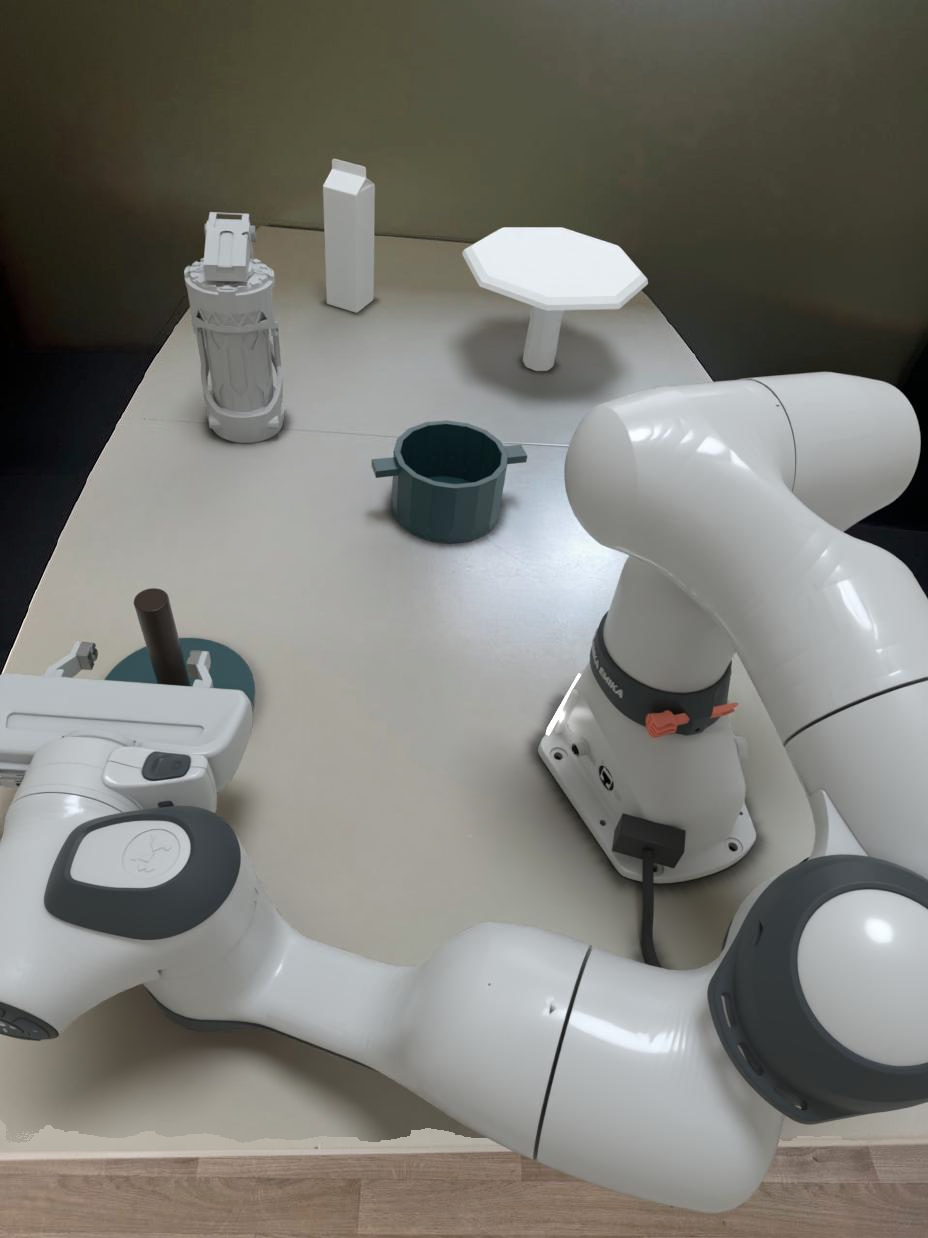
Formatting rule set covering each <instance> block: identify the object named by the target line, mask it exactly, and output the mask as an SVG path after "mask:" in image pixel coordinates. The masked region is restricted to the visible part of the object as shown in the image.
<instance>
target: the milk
mask: <svg viewBox="0 0 928 1238" xmlns="http://www.w3.org/2000/svg"><path fill="white" fill-rule="evenodd" d="M375 197H376V184H375V183H374V182H373V181H371V180H370V179H369V178H368V177H367V168H366V166H363V165H360V164H356V163H352V162H349V161H344V160H341V159H337V158H332V159H331V170H330V171H329V173H328V176H327V177H326V179H325V181H324V182H323V185H322V204H323V229H324V230H323V231H324V232H323V233H324V235H323V236H324V262H325V264H324V265H325V266H324V267H325V291H326V292H325V295H326V305H330V306H332V307H336V308H339V309H343V310H346V311H349V312H352V313H354V314H355V313H356V314H357V313H359V312H360V311H362V310H363V309H364V308H365V307H366V306H369V304H371V302H373V301H374V297H375V296H374V295H375V294H374V291H375V289H374V287H375V284H374V283H375V213H376V212H375V209H376V208H375V206H376V205H375V204H376V203H375V201H376V199H375Z"/></svg>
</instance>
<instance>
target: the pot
mask: <svg viewBox="0 0 928 1238" xmlns="http://www.w3.org/2000/svg"><path fill="white" fill-rule="evenodd" d="M527 460H528V454H527V452H526V451H525V449H524V448H523V445H522V444H514V445H513V444H512V445H504V444H503V442H502V441H501V440H500V439H499V438H497V437H496V436H495V435H494V434H492V433H491V432H490V431H488V430H486V429H484V428H481V427H479V426H477V425H474V424H470V423H469V422H462V421H454V420H436V421H426V422H425V421H424V423H420V424H417V425H414V426H411V427H410V428H408V429H407V430H405V431H404V432H403V433H402V434H400V435H399V437H397V438H396V441H395V445H394V449H393V456H391V457H381V458H372V459H371V468H372V471H373V474H374V477H375V478H376V479H378V478H387V477H392V486H391V505H392V510H393V514H394V516H395V519H396V521H397V522H398V523H399V525H401V526H402V527H403V528H404V529H405V530H406V531H408V532H409V533H411V534H413V535H414V536H416V537H418V538H421V539H423V540H427V541H430V542H434V543H441V544H460V543H461V544H462V543H467V542H470V541H471V542H472V541H474V540H478V539H479V538H482V537H484V536H485V535H486V534H488V533H489V532H490V531H492V529H493V528H494V527H495V526H496V524H497V523H498V520H499V517H500V510H501V505H502V499H503V494H504V493H503V492H504V486H505V480H506V475H507V468H508V465H514V464H515V465H516V464H524V463H527Z"/></svg>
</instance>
